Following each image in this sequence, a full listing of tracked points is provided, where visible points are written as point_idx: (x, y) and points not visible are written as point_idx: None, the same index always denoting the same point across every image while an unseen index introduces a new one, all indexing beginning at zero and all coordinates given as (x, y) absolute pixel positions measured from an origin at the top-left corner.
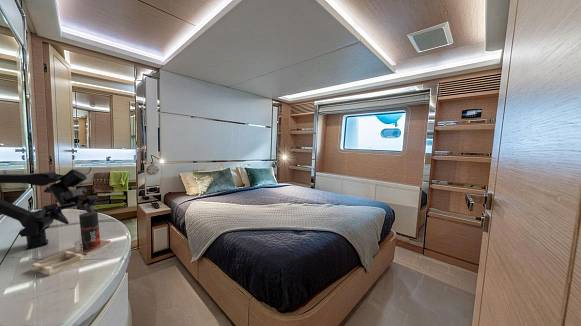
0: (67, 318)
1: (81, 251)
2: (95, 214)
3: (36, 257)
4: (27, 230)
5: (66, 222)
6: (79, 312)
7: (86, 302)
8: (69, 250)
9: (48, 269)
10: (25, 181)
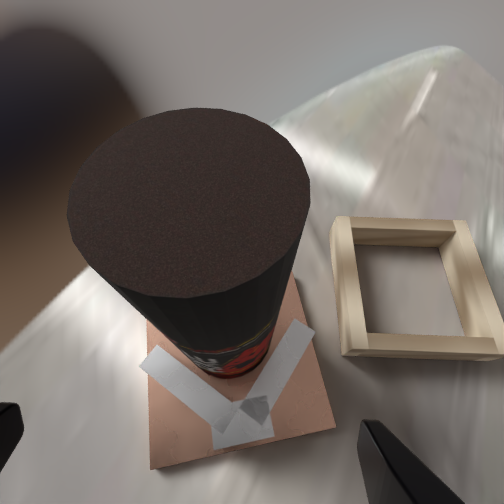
0: (459, 51)
1: (293, 315)
2: (172, 118)
3: None
4: None
5: (390, 446)
6: (440, 48)
7: (422, 58)
8: (312, 409)
9: (465, 224)
10: None
